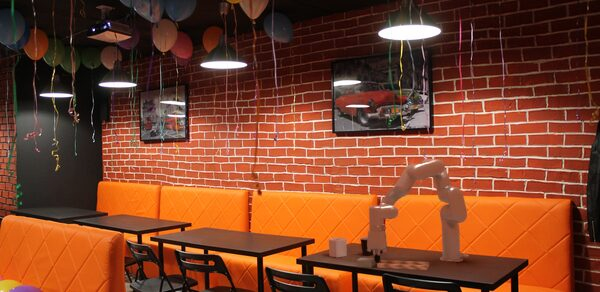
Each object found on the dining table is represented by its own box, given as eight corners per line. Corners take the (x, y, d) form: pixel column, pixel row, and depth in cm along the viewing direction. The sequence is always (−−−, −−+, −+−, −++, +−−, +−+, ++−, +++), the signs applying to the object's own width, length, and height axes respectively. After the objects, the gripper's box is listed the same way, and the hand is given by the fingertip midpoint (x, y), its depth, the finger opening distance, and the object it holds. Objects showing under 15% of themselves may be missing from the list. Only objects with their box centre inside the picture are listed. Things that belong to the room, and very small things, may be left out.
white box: (341, 253, 329) (341, 237, 329) (351, 256, 318) (350, 239, 318) (326, 255, 324) (325, 238, 324) (335, 258, 313) (335, 241, 314)
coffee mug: (364, 256, 316) (363, 240, 316) (358, 254, 324) (358, 237, 324) (382, 255, 319) (381, 238, 319) (376, 252, 327) (375, 236, 327)
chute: (429, 267, 283) (429, 262, 283) (427, 271, 274) (426, 266, 274) (381, 264, 292) (381, 259, 292) (377, 269, 283) (377, 263, 283)
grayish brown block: (374, 265, 292) (374, 258, 292) (371, 268, 286) (371, 260, 286) (360, 264, 295) (360, 257, 295) (357, 267, 289) (357, 260, 289)
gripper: (391, 227, 289) (392, 261, 289) (364, 227, 294) (365, 260, 294) (388, 229, 282) (389, 264, 282) (361, 229, 287) (362, 263, 287)
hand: (377, 262), depth 288 cm, fingers closed
